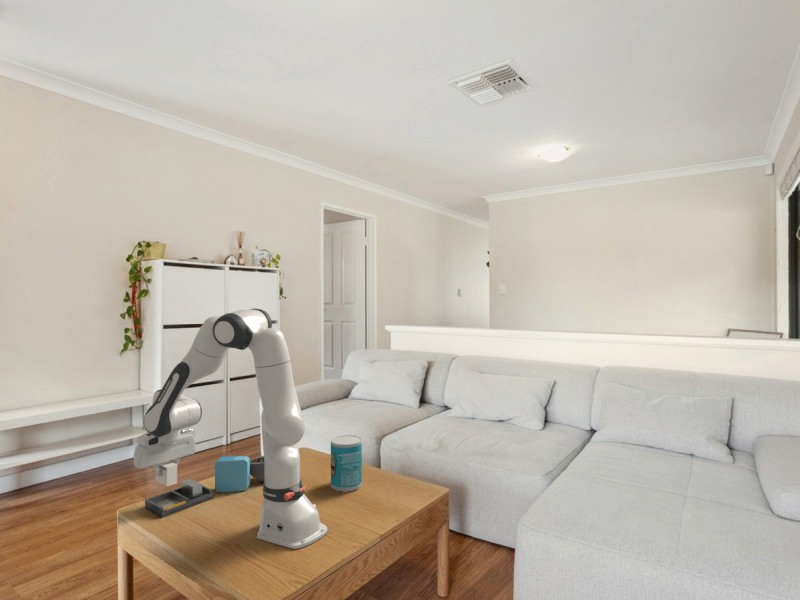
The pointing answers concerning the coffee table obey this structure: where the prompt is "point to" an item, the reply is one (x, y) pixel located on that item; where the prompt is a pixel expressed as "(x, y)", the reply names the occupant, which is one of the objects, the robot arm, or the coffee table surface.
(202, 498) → the rack
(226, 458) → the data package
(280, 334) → the robot arm
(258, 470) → the planter
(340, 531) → the coffee table surface
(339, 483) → the food can
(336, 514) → the coffee table surface
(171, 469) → the beige rectangular block
